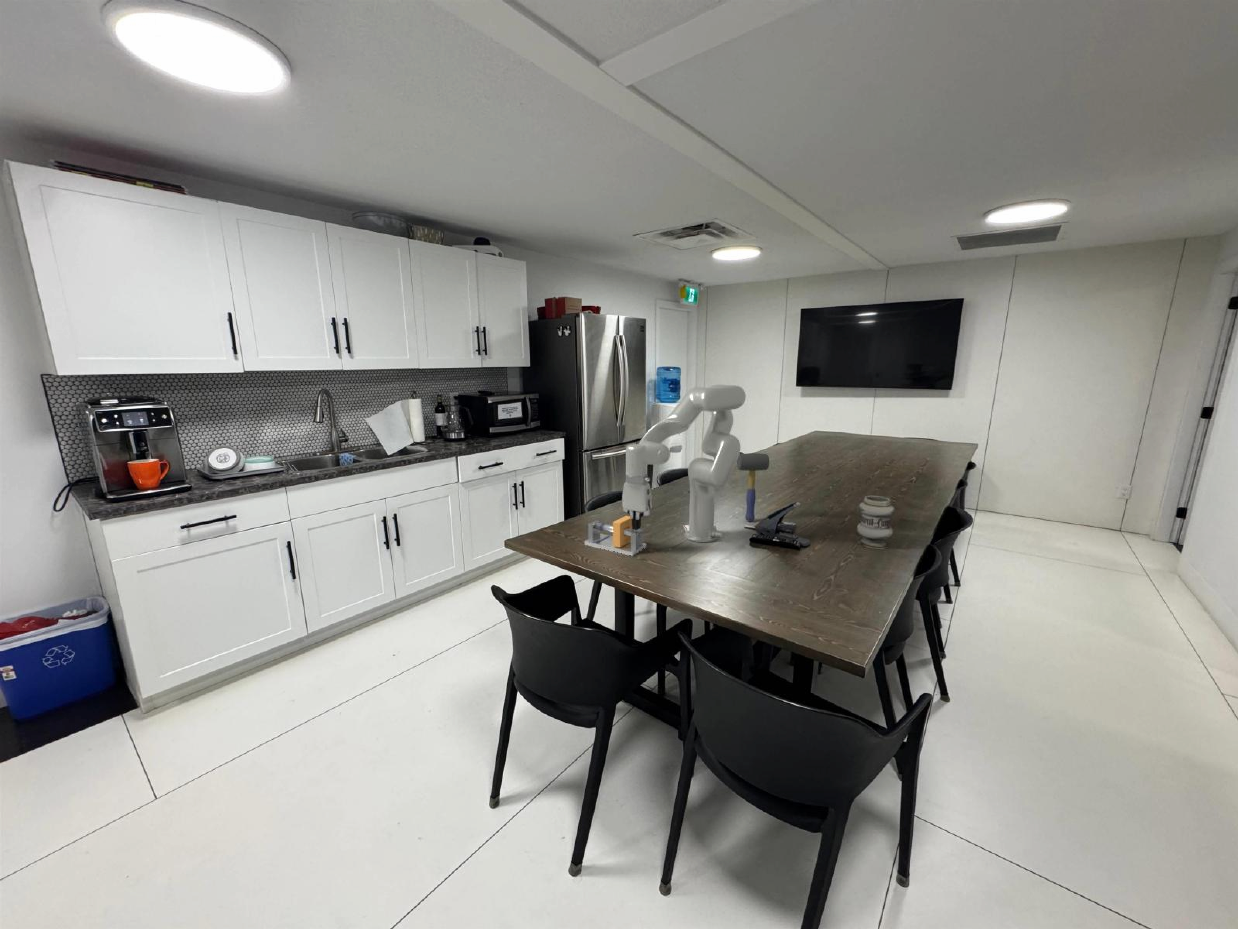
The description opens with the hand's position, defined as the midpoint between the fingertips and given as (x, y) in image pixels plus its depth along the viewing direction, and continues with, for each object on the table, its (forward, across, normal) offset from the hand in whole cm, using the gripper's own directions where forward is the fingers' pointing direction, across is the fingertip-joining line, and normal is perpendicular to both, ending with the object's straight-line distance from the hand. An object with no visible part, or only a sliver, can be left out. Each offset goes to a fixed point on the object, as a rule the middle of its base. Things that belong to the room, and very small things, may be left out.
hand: (636, 528), depth 173 cm
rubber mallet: (+9, -24, -56) cm, 62 cm away
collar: (+6, +6, 0) cm, 9 cm away
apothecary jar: (+9, -72, -53) cm, 90 cm away
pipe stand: (+8, +9, 0) cm, 13 cm away
